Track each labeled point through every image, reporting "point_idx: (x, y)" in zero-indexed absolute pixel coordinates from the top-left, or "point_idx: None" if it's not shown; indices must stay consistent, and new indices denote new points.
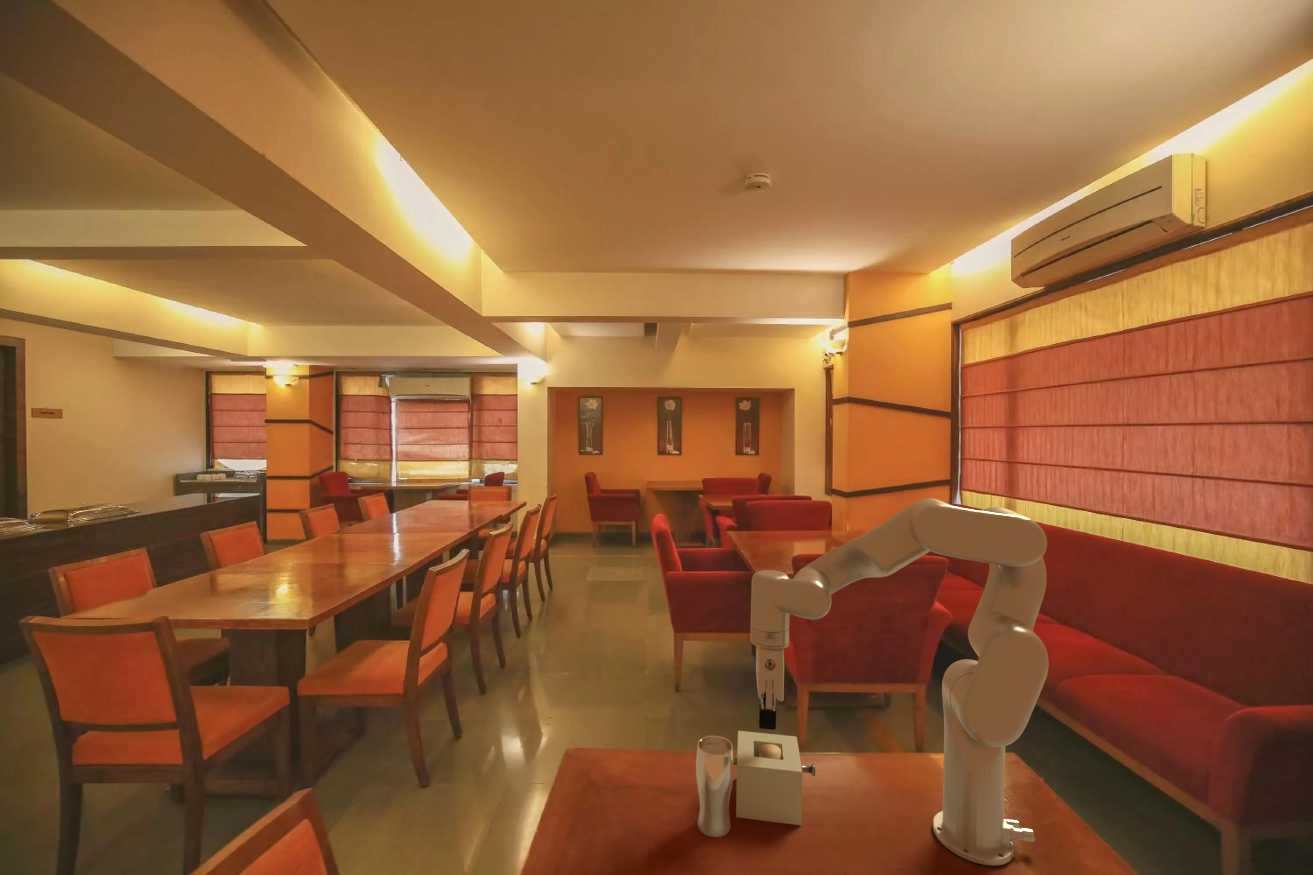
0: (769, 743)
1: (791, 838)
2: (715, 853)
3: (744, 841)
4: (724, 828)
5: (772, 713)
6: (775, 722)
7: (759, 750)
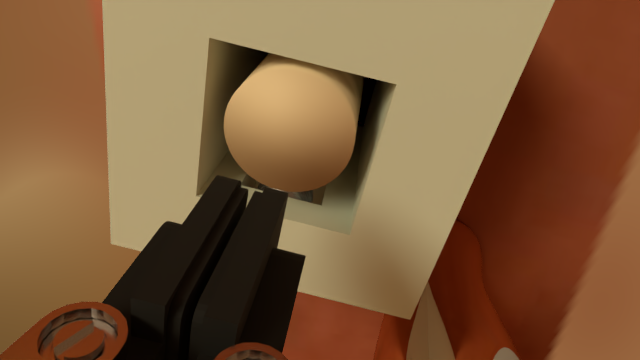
0: (205, 110)
1: (542, 33)
2: (538, 272)
3: (513, 191)
4: (479, 250)
5: (247, 316)
6: (276, 228)
7: (283, 187)
